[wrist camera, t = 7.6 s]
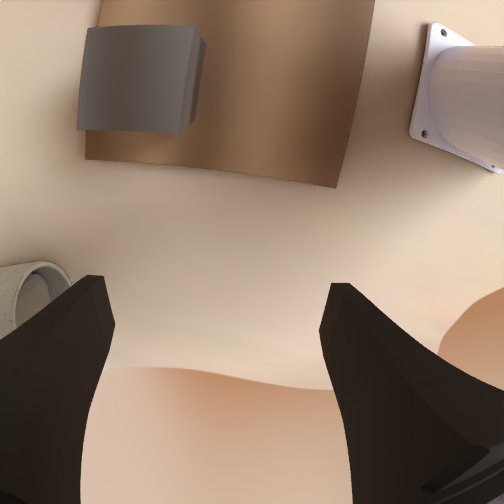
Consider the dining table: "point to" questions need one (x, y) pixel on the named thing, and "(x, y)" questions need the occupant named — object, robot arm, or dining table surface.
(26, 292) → the ceramic mug
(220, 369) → the dining table surface
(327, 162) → the thin brown board
